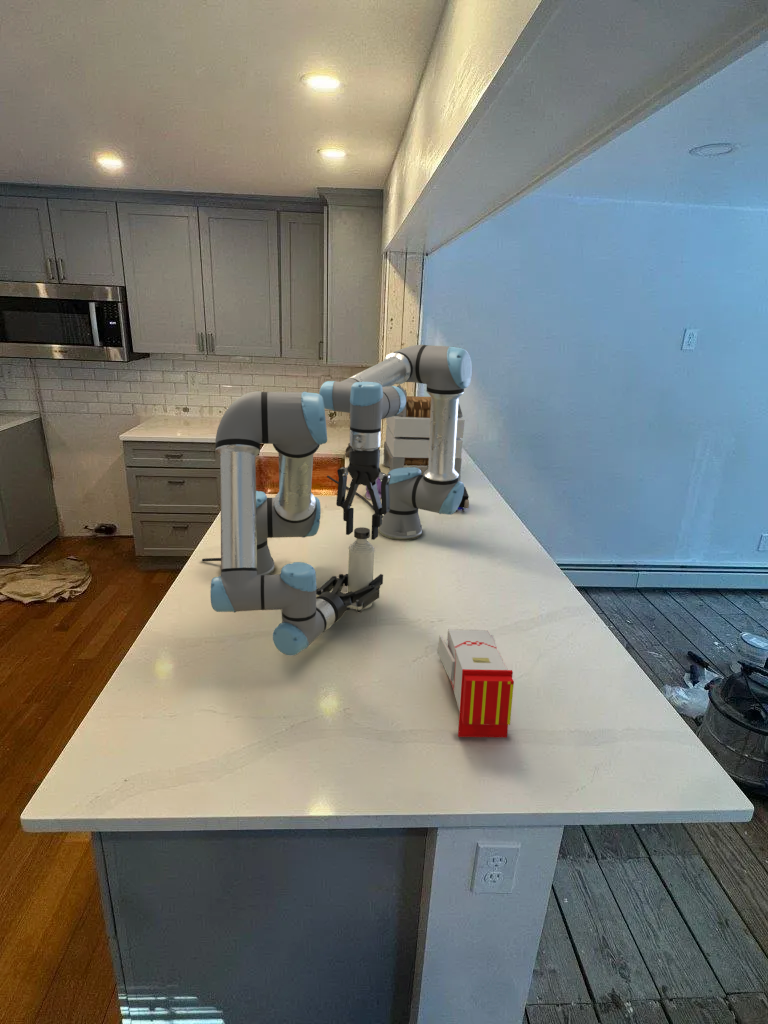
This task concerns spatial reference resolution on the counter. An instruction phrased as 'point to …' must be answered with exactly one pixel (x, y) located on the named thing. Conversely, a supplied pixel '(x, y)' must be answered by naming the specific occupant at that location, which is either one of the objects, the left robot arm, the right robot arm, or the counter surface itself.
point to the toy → (478, 682)
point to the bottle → (360, 565)
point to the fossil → (347, 450)
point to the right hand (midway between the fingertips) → (361, 535)
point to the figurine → (377, 489)
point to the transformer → (415, 435)
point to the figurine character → (464, 501)
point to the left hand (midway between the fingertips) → (369, 575)
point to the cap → (361, 533)
